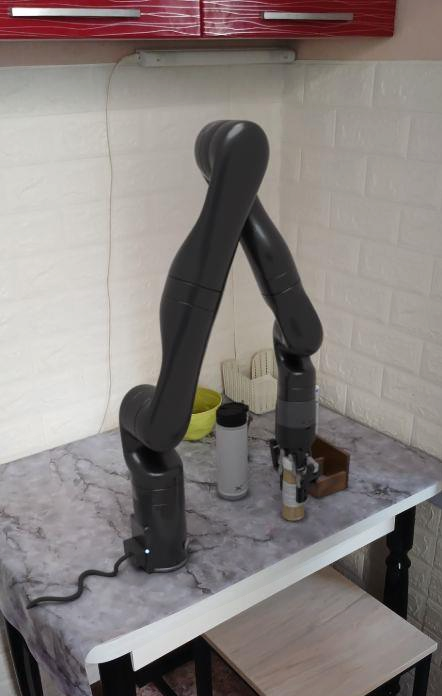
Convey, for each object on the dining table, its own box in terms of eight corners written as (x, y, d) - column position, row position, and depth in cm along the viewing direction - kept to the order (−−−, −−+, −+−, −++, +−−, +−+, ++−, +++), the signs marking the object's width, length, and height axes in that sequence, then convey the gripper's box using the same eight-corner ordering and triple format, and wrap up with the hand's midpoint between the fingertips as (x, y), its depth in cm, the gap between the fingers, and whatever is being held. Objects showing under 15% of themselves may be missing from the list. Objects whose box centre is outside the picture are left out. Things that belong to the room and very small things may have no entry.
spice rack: (317, 499, 156) (318, 465, 152) (273, 468, 167) (274, 436, 163) (347, 487, 159) (350, 454, 155) (303, 458, 171) (304, 426, 167)
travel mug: (246, 502, 156) (245, 413, 145) (215, 499, 157) (212, 411, 147) (251, 486, 161) (251, 400, 151) (221, 484, 162) (218, 398, 152)
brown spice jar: (294, 507, 153) (296, 448, 147) (309, 516, 150) (311, 457, 143) (276, 514, 151) (277, 455, 144) (291, 524, 148) (293, 464, 141)
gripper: (256, 408, 143) (257, 486, 152) (302, 437, 133) (300, 518, 141) (289, 399, 147) (287, 475, 155) (336, 426, 136) (331, 506, 145)
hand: (293, 495), depth 148 cm, fingers open, 4 cm apart
